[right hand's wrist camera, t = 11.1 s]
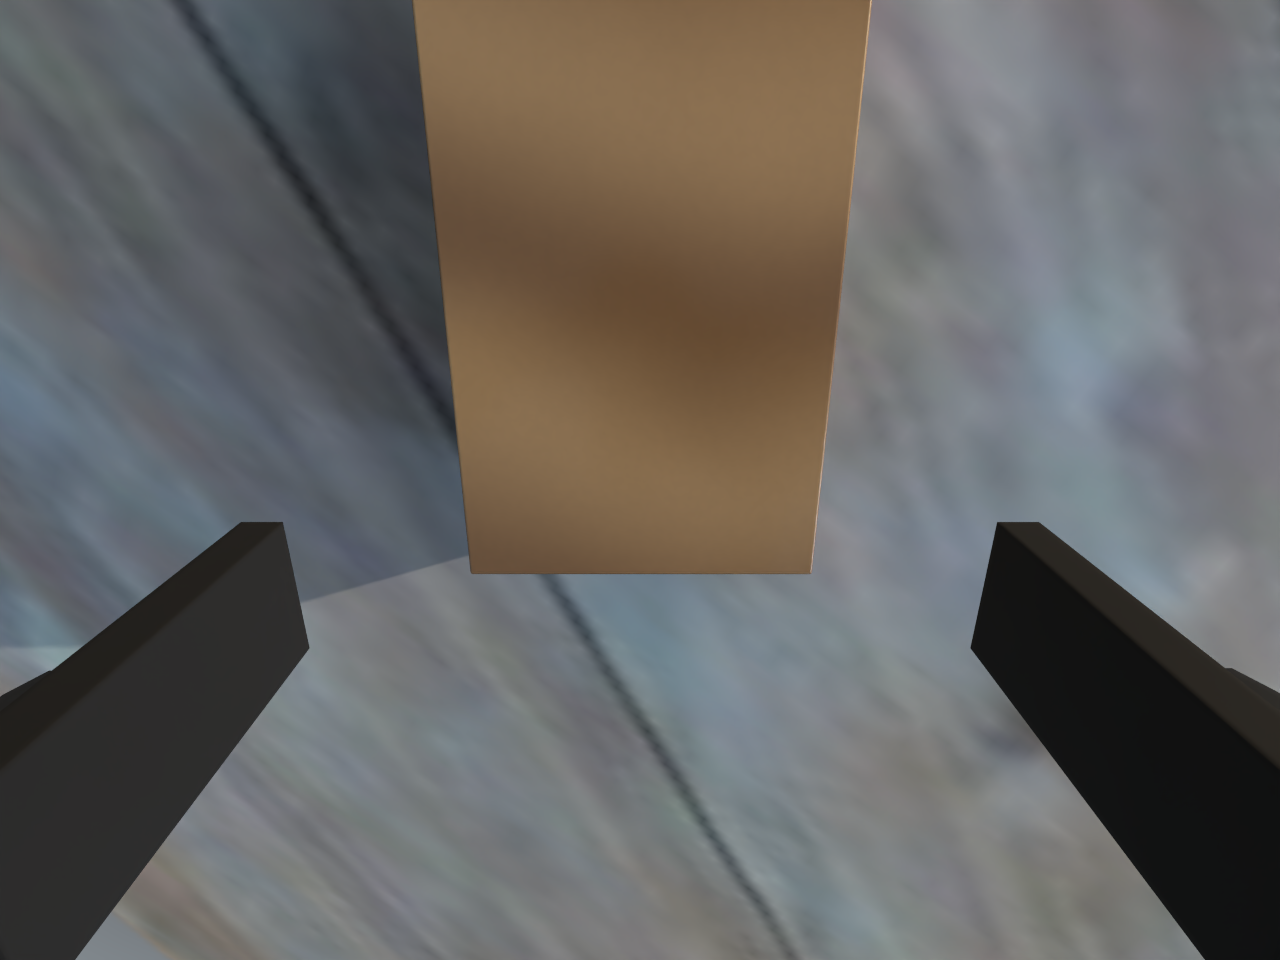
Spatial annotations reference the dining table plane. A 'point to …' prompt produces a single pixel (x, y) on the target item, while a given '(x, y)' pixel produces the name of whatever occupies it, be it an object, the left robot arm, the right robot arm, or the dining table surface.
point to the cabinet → (641, 272)
